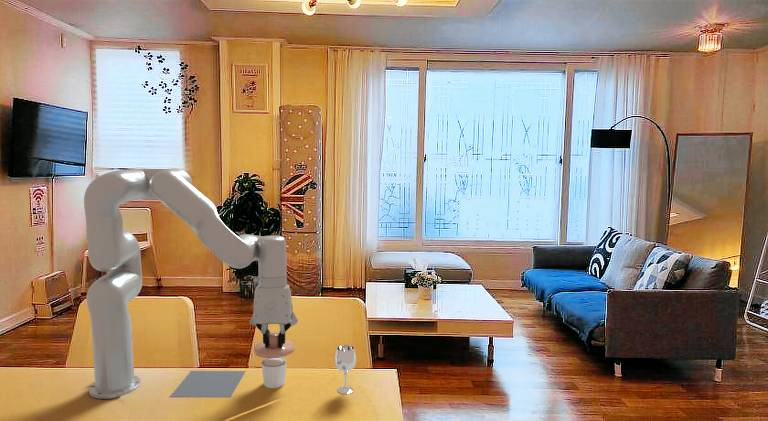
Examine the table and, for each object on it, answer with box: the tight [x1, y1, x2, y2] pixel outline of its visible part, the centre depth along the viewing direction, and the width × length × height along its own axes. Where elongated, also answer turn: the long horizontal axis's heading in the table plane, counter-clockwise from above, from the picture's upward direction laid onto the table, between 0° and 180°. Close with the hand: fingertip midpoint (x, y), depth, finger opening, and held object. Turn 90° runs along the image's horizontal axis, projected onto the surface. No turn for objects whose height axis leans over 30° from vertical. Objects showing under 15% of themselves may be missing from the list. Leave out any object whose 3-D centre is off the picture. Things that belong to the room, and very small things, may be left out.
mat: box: [169, 370, 246, 398], centre depth 145 cm, size 16×16×1 cm
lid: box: [253, 331, 295, 359], centre depth 144 cm, size 11×11×4 cm
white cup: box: [261, 357, 287, 389], centre depth 145 cm, size 7×7×7 cm
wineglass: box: [334, 344, 357, 395], centre depth 142 cm, size 6×6×12 cm
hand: (274, 345), depth 144 cm, fingers closed on lid, 3 cm apart
